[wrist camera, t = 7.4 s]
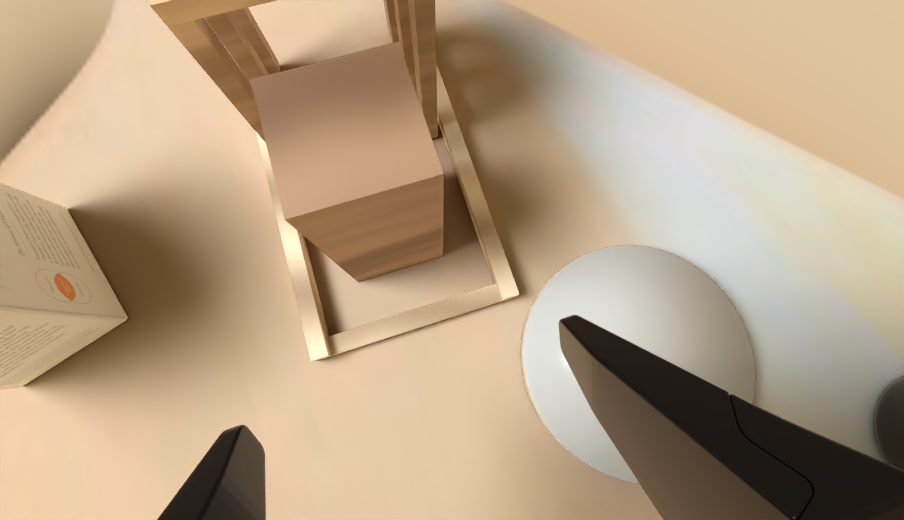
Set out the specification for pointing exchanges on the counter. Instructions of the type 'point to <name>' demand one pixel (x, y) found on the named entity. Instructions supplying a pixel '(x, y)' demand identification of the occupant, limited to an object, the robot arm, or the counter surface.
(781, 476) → the robot arm
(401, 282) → the counter surface
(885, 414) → the supplement bottle
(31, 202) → the small box
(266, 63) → the wooden toy stool
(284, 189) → the walnut block
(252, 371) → the counter surface
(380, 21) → the counter surface
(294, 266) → the track
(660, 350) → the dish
